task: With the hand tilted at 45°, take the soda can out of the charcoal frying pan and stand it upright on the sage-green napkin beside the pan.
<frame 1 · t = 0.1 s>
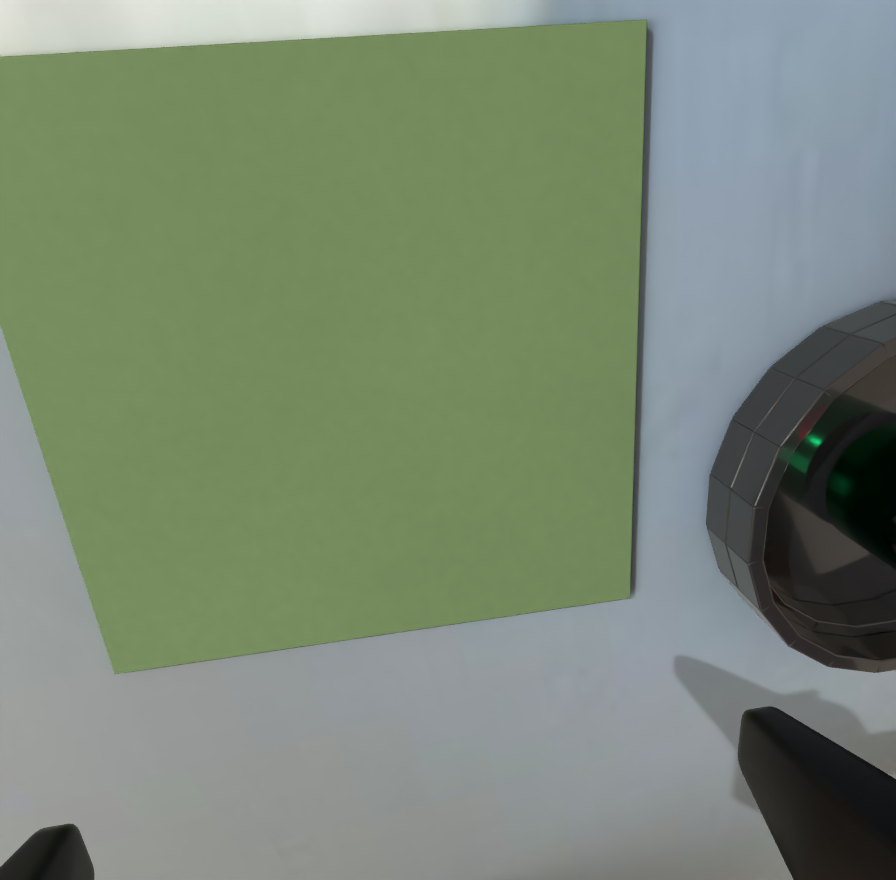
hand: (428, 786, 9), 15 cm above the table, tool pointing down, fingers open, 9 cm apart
napkin: (348, 384, 22), on the table
soda can: (871, 474, 26), resting on pan
pan: (870, 474, 26), on the table
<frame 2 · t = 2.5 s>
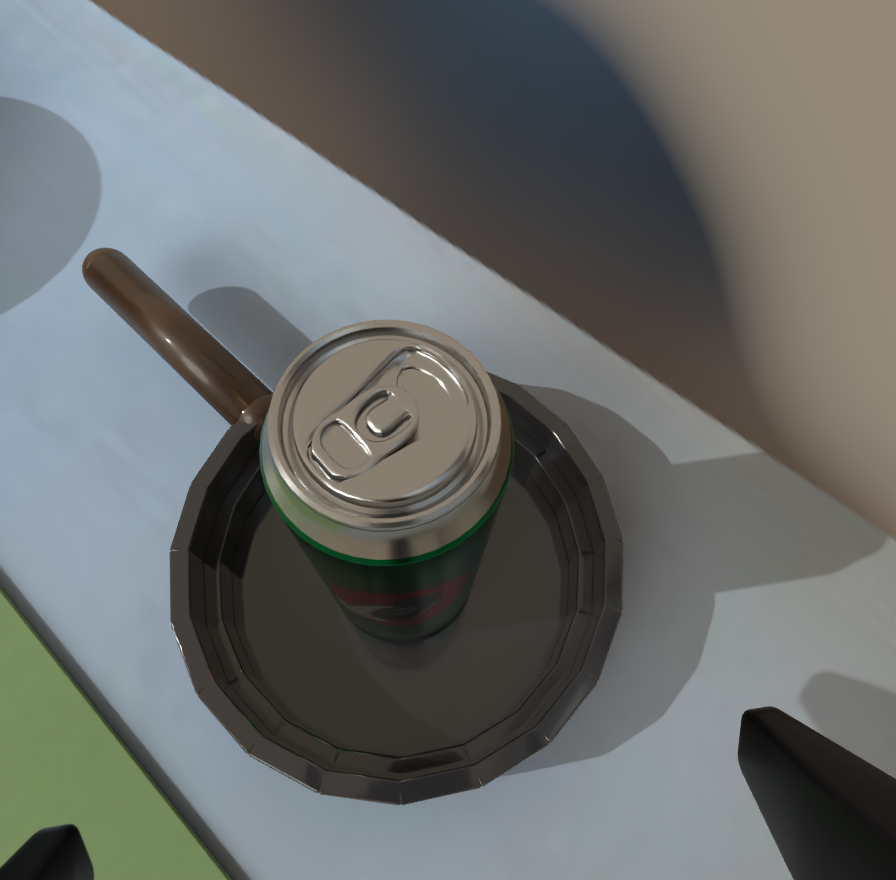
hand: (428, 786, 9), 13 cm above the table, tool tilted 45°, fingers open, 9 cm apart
soda can: (402, 569, 23), resting on pan
pan handle: (180, 339, 24), point 2 cm above the table
pan: (402, 569, 23), on the table
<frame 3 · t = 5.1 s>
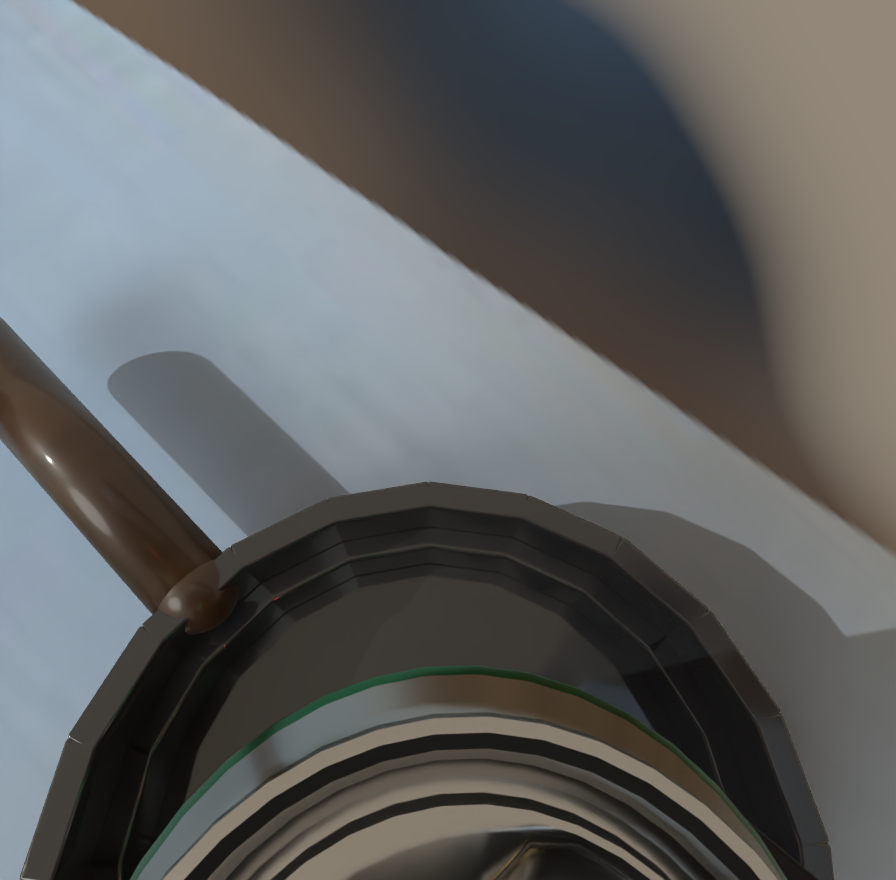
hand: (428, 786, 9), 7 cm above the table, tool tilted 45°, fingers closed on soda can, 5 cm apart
soda can: (433, 835, 14), resting on pan, touching gripper
pan handle: (73, 456, 15), point 2 cm above the table
pan: (433, 835, 14), on the table
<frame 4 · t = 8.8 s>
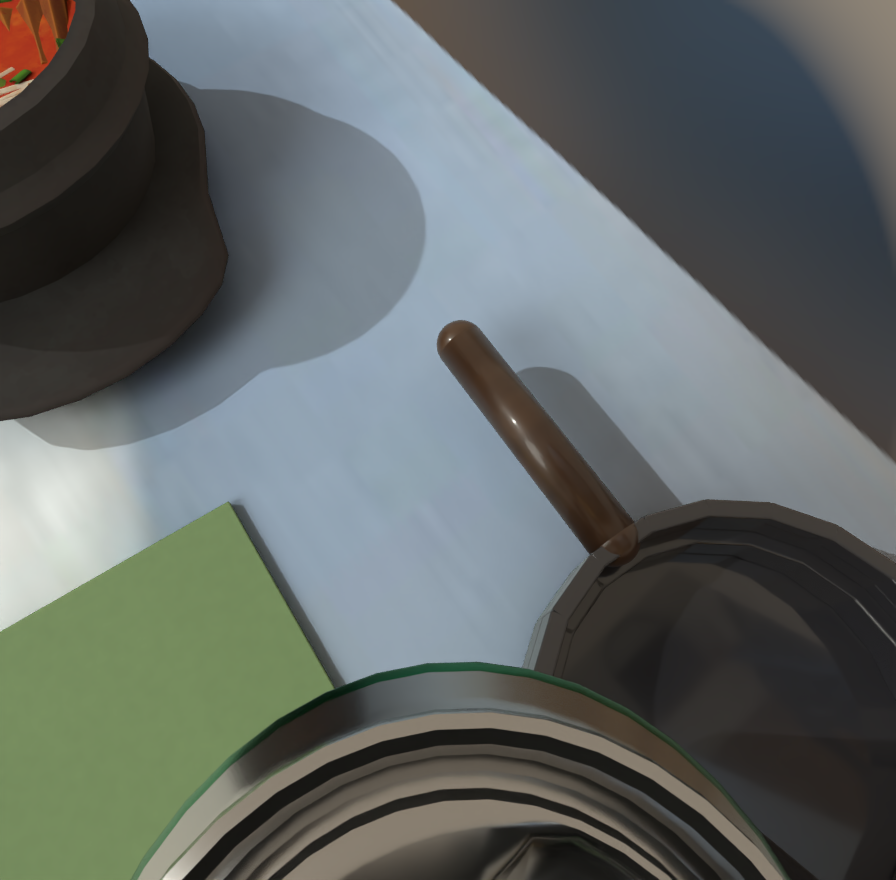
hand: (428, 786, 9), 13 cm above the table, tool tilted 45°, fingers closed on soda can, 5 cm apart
casserole: (9, 208, 29), on the table
soda can: (433, 834, 14), point 7 cm above the table, touching gripper
pan handle: (532, 436, 22), point 2 cm above the table
pan: (725, 731, 21), on the table
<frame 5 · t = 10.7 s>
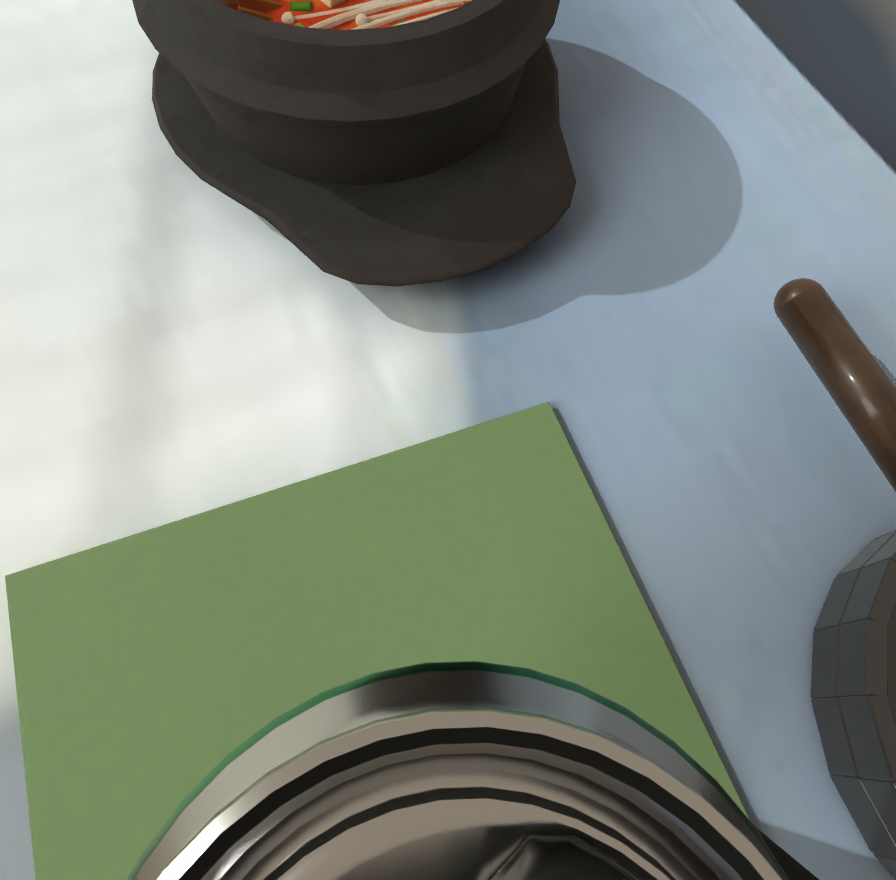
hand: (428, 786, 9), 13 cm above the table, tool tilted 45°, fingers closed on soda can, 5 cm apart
napkin: (384, 772, 20), on the table
casserole: (362, 110, 32), on the table
soda can: (433, 834, 14), point 6 cm above the table, touching gripper
pan handle: (867, 399, 23), point 2 cm above the table
when the fingers open (7 cm above the table, at t = 12.7 s): soda can stays where it is, resting on napkin.
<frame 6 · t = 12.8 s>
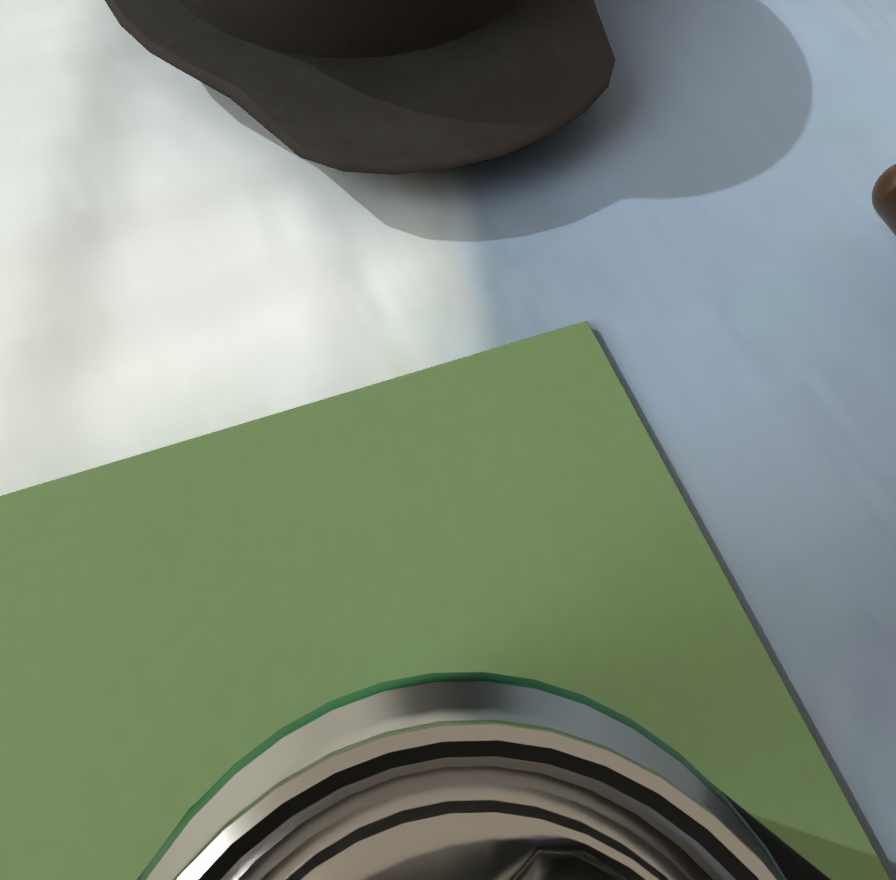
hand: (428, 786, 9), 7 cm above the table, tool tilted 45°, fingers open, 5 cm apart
napkin: (375, 800, 14), on the table
soda can: (433, 839, 14), resting on napkin
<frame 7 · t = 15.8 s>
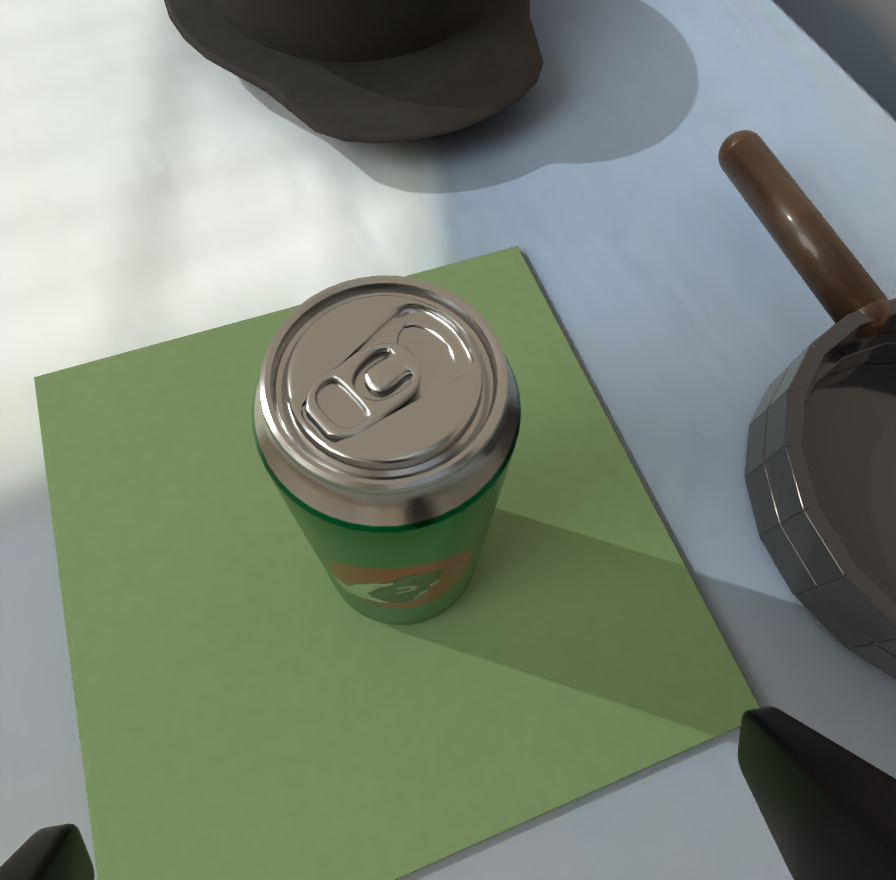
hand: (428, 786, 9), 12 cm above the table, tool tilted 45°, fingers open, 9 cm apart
napkin: (366, 533, 23), on the table
casserole: (353, 14, 35), on the table
soda can: (403, 553, 22), resting on napkin
pan handle: (798, 228, 26), point 2 cm above the table
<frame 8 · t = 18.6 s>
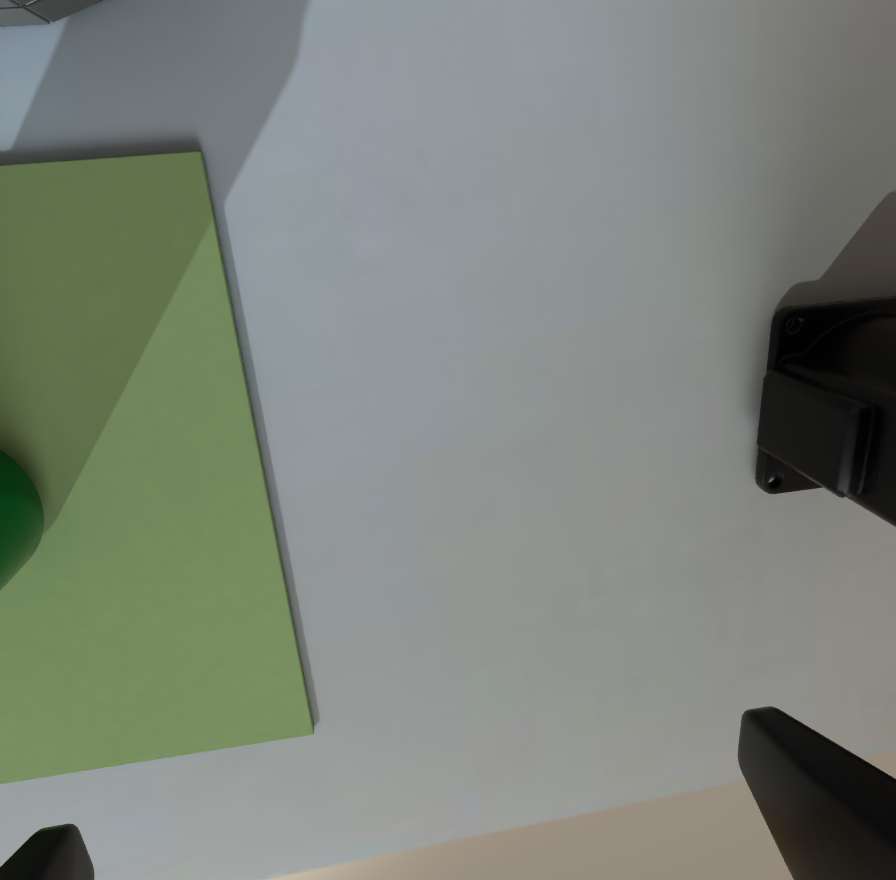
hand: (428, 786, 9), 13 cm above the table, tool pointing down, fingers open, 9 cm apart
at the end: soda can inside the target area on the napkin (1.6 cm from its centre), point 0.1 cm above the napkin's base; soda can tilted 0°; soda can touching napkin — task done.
